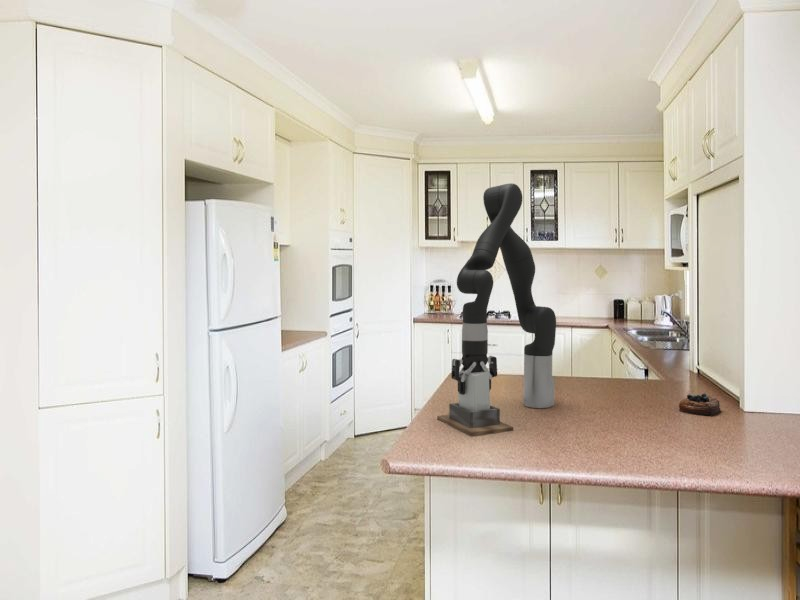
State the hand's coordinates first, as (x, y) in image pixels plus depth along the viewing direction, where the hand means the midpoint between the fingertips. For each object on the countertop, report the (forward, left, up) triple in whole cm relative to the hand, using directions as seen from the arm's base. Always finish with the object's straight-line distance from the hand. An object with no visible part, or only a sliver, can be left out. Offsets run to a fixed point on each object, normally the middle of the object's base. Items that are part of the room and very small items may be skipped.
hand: (474, 392), depth 177 cm
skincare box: (0, 0, -9) cm, 9 cm away
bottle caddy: (0, 0, -10) cm, 10 cm away
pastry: (-75, +16, -10) cm, 77 cm away
